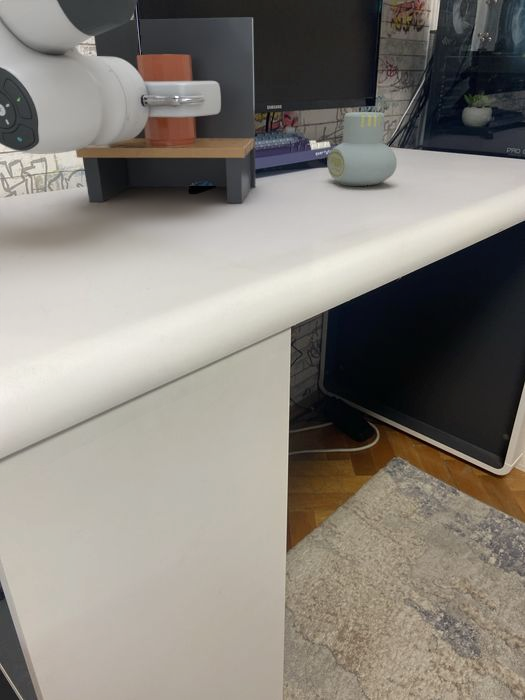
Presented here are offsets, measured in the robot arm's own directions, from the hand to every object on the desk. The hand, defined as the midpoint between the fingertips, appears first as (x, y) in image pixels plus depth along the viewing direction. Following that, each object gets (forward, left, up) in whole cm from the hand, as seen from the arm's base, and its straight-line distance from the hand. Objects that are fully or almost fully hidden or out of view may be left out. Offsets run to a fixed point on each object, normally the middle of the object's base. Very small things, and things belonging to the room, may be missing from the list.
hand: (170, 95), depth 71 cm
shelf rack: (0, -1, -13) cm, 13 cm away
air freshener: (+27, +9, -13) cm, 31 cm away
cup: (0, -1, -6) cm, 6 cm away
